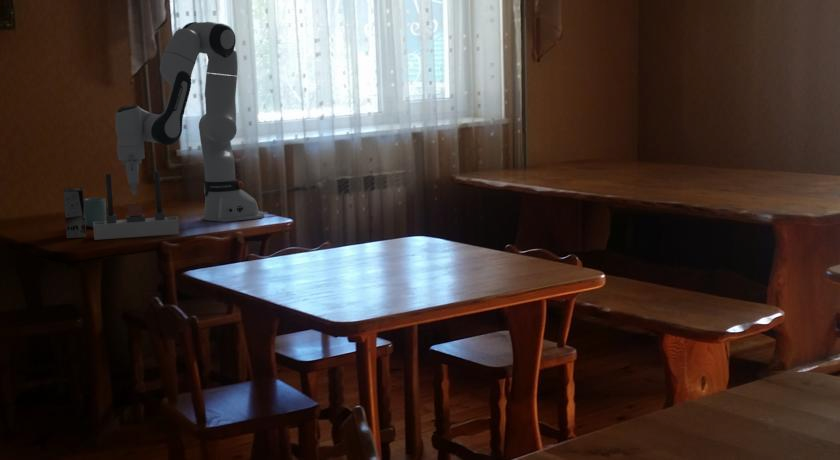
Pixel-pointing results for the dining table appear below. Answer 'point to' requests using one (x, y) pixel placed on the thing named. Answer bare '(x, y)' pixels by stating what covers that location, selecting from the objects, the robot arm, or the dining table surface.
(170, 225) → the power strip
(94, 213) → the cup
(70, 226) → the coffee box
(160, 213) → the cord
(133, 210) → the block
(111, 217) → the cord
